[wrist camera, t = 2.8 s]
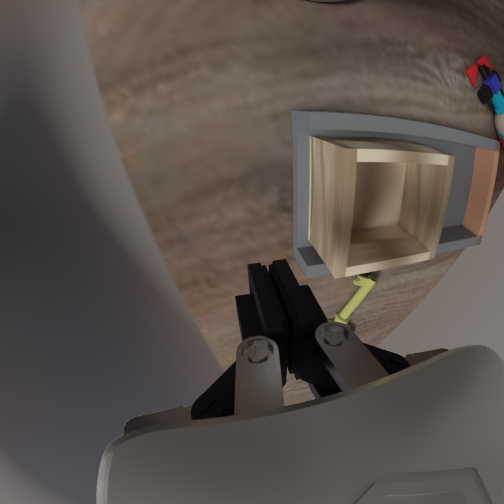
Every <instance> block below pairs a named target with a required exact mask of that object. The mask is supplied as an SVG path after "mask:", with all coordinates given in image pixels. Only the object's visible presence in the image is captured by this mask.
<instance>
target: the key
mask: <svg viewBox="0 0 504 504" xmlns="http://www.w3.org/2000/svg"><path fill="white" fill-rule="evenodd" d="M357 277H358V278H357V279H355V280H354V282H353V283H354V284H355V285H358V286H360V287H359V289H358V290H357V291H356V293H355V294H354V295H353V297H352V298H351V299H350V300H349V302H348V303H347V304H346V305H345V307H344V308H343V309H342V310H341V312H337V313H335V319H334V320H333V319H327V320H328V322H330V321H333V322H341V323H343V324H345V325H347V326H348V327H349V328H351V327H350V326H349V325H348V324H347V323H348V321H349V319H348V317H349V316H350V315H351V313H352V312H353V311H354V310H355V309H356V307H357V306H358V305H359V304H360V303H361V301H362V300H363V299H364V298H365V296H366V295H367V294H368V292H369V291H370V290H371V289H372V287H373V286H374V285H375V283H376V282H377V280H376V279H375V278H374V277H373V276H371V275H368V277H366V276H362V275H358V276H357Z"/></svg>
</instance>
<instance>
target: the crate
mask: <svg viewBox="0 0 504 504" xmlns="http://www.w3.org/2000/svg"><path fill="white" fill-rule="evenodd" d="M309 142H310V189H309V230H308V240H309V241H310V243H311V244H312V246H313V247H314V248H315V250H316V251H317V253H318V254H319V256H320V257H321V259H322V260H323V261H324V263H325V264H326V266H327V267H328V269H329V270H330V272H331V273H332V275H333V276H334V278H335V279H336V278H341V277H347V276H352V275H357V274H362V273H368V272H373V271H378V270H383V269H388V268H393V267H397V266H402V265H407V264H412V263H416V262H421V261H425V260H430V259H434V258H435V254H436V251H437V247H438V243H439V240H440V236H441V232H442V228H443V223H444V219H445V214H446V210H447V205H448V199H449V194H450V188H451V182H452V175H453V168H454V160H455V156H453V155H451V154H448V153H445V152H443V151H440V150H437V149H434V148H431V147H428V146H426V145H422V144H419V143H416V142H413V141H410V140H402V139H391V138H377V137H358V136H309Z"/></svg>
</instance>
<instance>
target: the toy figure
mask: <svg viewBox="0 0 504 504" xmlns="http://www.w3.org/2000/svg"><path fill="white" fill-rule="evenodd" d="M477 64H478V65H480V66H484V68H485V69H486V71H487V73H488V76H487V77H486V76H485V75H484V73H483V71H482V69H481V68H480V67H478V66H477ZM477 64H473V65H471V66H470V67H469V68H468V69H467V70H466V73H467V76H468V78H469V80H470V81H471V83H472V85H473V86H474V88H475V83H476V76H477V69H479V71H480V72H481V74H482V76H483V78H484V79H485V80H484V81H483V83H484V86H481V90H479V91H478V96H479V97H480V99H481V101H482V102H483V103H484V104H487V103H488V105H489V106H490V108H491V109H492V110H493V112H494V113H495V118H494V123H495V127H496V129H497V130H496V132H497V137H498V139H499V141H500V143H501V145H502V147H503V148H504V93H503V91H502V89H501V87H502V85H501V83H500V82H501V79H500V77H499V75H498V73H497V72H496V71H495V70H493V69H492V67H491V65H490V63H489V61H488V59H487V57H486V56H485V55H483V56H481V57H480V58H479V59H478V61H477ZM487 67H488V68H490V69H492V70H493V71H492V72H491V74H490V72H489V70H488V68H487ZM489 99H490V100H491V102H492V104H493V106H494V108H495V109H494V108H493V107H492V106H491V104H490V102H489Z"/></svg>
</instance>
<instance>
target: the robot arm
mask: <svg viewBox="0 0 504 504" xmlns="http://www.w3.org/2000/svg"><path fill="white" fill-rule="evenodd" d="M311 1H317V2H338V1H344V0H311ZM248 277H249V288H250V294H246V295H239V296H235V299H236V307H237V314H238V320H239V326H240V332H241V337H242V342H241V343H240V344H239V346H238V348H237V352H236V361H235V362H234V363H233V364H232V365H231V366H230V367H229V368H228V369H227V370H226V371H225V372H224V373H223V375H221V376H220V377H219V378H218V379H217V380H216V381H215V382H214V383H213V384H212V385H211V387H209V388H208V389H207V390H206V391H205V392H204V393H203V394H202V395H201V396H200V397H199V398H198V399H197V400H196V401H195V402H194V404H193V405H191V406H188V407H183V406H178V407H174V408H171V409H167V410H163V411H159V412H154V413H150V414H145V415H141V416H136V417H134V418H131V419H130V420H129V421H128V422H126V424H125V426H124V431H123V434H124V435H122V436H120V437H118V438H117V439H115V440H114V441H112V442H111V443H110V444H109V445H108V447H107V448H106V450H105V452H104V454H103V457H102V460H101V463H100V468H99V474H98V482H97V497H96V498H97V499H96V504H504V361H503V359H502V358H501V357H500V356H499V355H498V354H497V353H496V352H495V351H494V350H492V349H491V348H489V347H487V346H483V345H469V346H463V347H458V348H455V349H452V350H448V349H436V350H431V351H426V352H420V353H414V354H408V355H406V357H402V356H400V355H398V354H395V353H392V352H389V351H386V350H383V349H380V348H377V347H374V346H371V345H368V344H365V343H362V341H361V340H360V339H359V338H358V337H357V335H356V334H355V333H354V332H353V331H352V330H351V328H349V327H348V326H347V325H345V324H343V323H341V322H333V321H330V322H328V320H327V318H326V316H325V314H324V313H323V311H322V309H321V307H320V305H319V304H318V302H317V300H316V298H315V296H314V295H313V293H312V291H311V289H310V287H309V286H308V285H302V286H299V284H298V282H297V280H296V278H295V276H294V274H293V272H292V270H291V268H290V267H289V265H288V263H287V261H286V259H283V260H276V261H273V264H271V265H269V273H268V270H267V268H266V266H265V265H264V266H261V264H260V263H255V264H248ZM287 367H288V370H289V373H290V374H292V373H294V375H295V377H296V380H298V379H302V380H303V381H306V382H308V386H309V388H310V390H311V392H312V394H313V395H314V397H315V399H314V400H310V401H306V402H302V403H298V404H293V405H289V406H284V398H283V386H284V385H285V384H286V374H287Z"/></svg>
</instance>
